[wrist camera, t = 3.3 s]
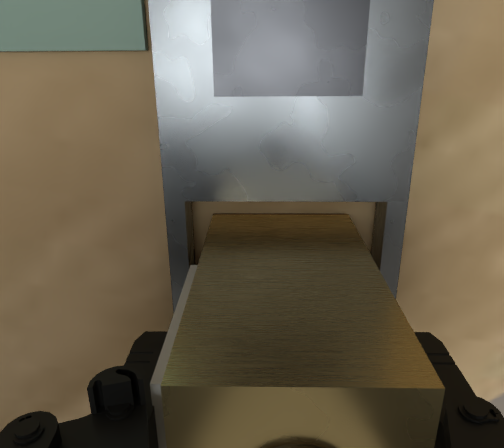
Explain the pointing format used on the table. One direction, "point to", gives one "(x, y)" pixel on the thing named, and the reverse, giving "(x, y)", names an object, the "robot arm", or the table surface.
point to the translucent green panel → (72, 25)
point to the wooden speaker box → (295, 344)
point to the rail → (288, 109)
